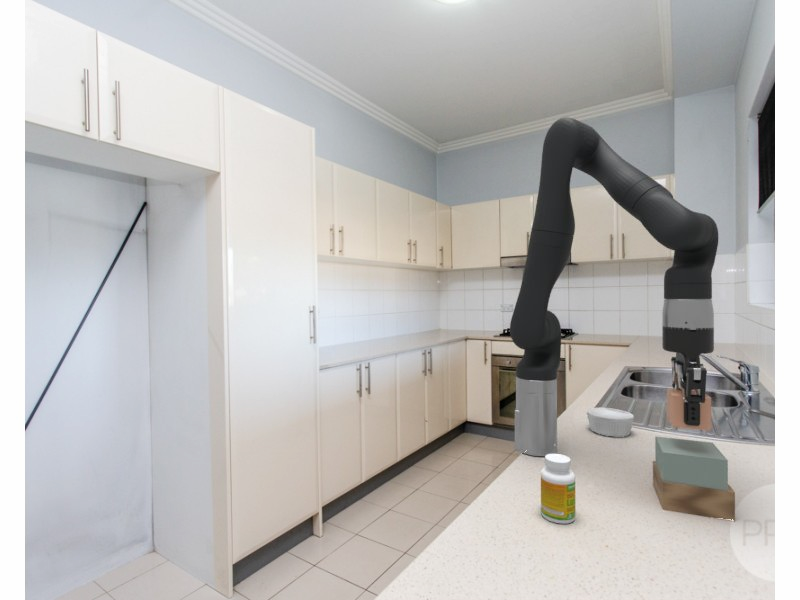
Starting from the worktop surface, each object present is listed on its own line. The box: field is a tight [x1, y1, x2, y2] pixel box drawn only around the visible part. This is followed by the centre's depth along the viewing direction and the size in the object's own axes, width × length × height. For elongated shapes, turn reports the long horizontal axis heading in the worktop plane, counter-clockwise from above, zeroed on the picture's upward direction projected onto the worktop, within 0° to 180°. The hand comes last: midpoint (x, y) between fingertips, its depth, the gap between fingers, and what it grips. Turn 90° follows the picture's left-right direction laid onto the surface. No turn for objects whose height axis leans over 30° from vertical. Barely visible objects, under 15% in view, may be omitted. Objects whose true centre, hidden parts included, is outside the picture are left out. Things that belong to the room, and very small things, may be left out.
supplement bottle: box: [540, 453, 576, 525], centre depth 70 cm, size 5×5×10 cm
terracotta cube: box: [666, 388, 712, 432], centre depth 75 cm, size 6×6×6 cm
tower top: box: [654, 435, 729, 491], centre depth 74 cm, size 9×9×5 cm
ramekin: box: [586, 407, 635, 438], centre depth 113 cm, size 11×11×5 cm
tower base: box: [652, 460, 736, 521], centre depth 75 cm, size 10×10×5 cm
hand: (687, 419), depth 75 cm, fingers closed on terracotta cube, 5 cm apart
